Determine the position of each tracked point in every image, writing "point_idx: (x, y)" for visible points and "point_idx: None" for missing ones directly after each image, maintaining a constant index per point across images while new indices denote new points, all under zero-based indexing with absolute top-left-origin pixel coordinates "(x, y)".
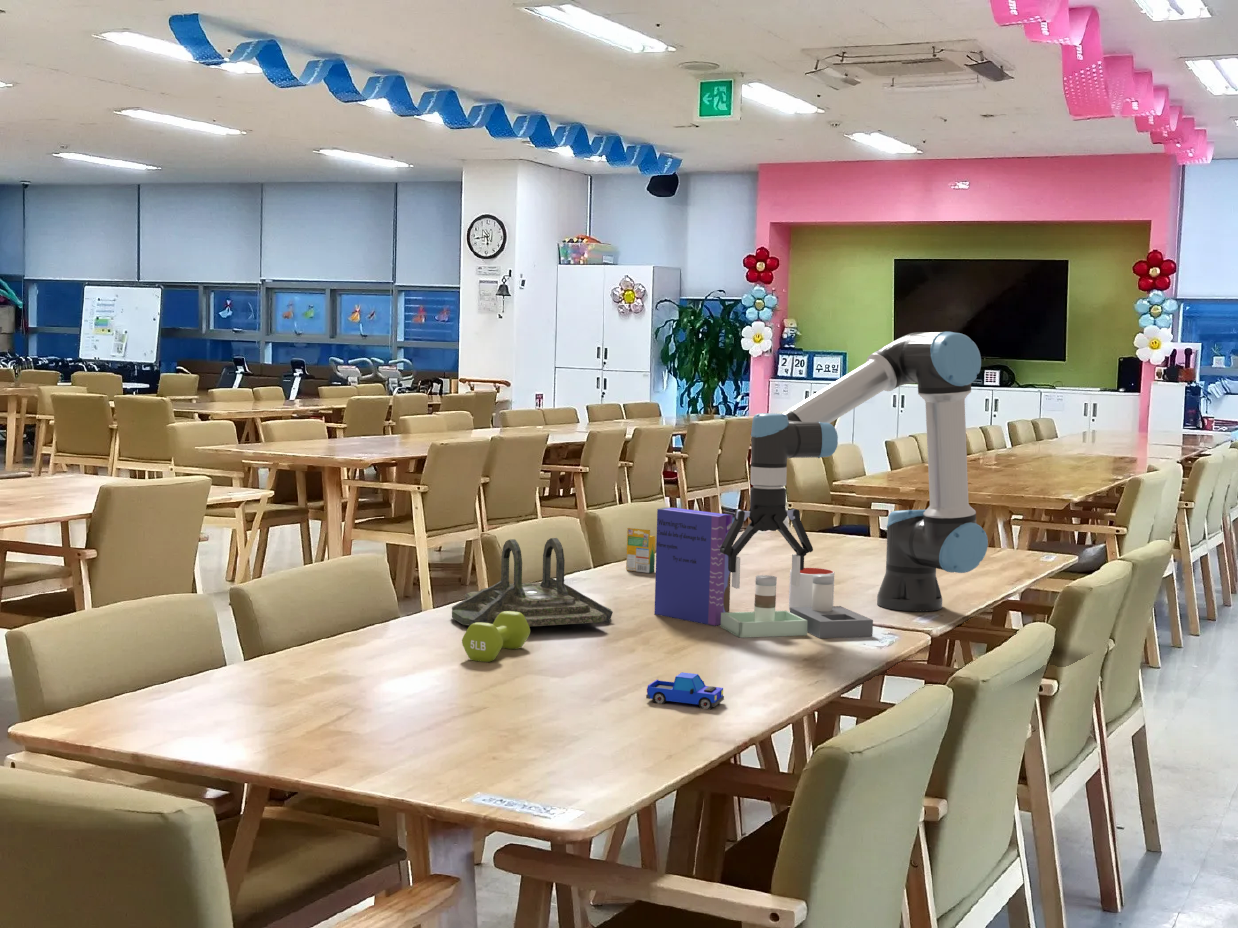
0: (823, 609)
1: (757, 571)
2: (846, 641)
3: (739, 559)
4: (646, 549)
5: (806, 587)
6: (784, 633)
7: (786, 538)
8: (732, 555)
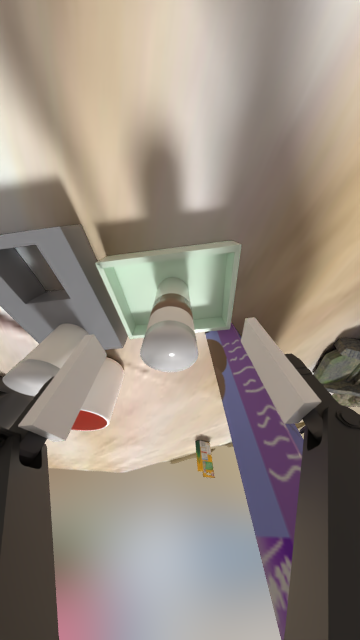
0: (67, 325)
1: (135, 443)
2: (16, 182)
3: (302, 394)
4: (203, 458)
5: (91, 388)
6: (146, 251)
7: (29, 566)
8: (352, 413)
